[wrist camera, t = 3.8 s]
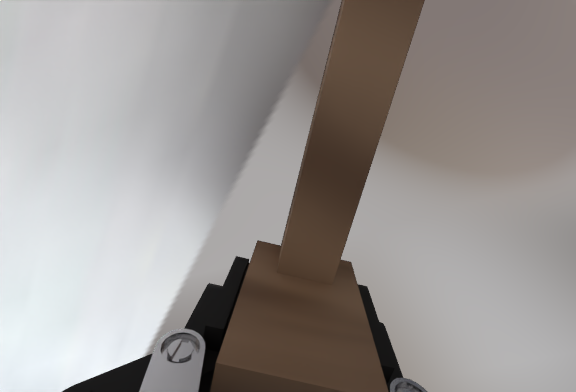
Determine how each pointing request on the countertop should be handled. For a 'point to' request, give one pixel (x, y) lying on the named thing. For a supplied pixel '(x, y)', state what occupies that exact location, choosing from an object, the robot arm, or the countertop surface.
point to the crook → (322, 227)
